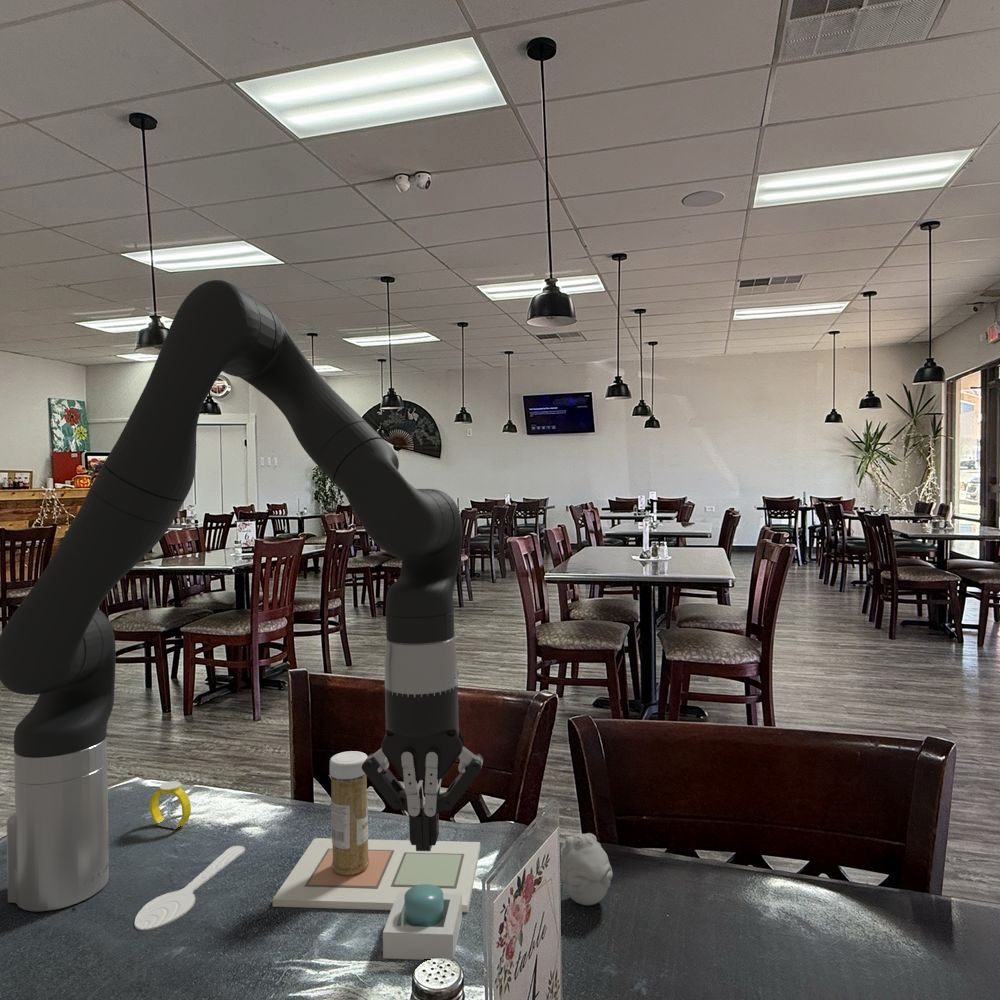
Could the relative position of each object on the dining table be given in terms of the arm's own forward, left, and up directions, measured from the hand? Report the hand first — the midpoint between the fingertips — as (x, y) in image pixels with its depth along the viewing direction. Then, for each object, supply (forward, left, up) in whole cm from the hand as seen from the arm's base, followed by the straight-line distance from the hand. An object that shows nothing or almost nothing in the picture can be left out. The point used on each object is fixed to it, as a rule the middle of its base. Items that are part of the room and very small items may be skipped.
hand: (424, 847), depth 72 cm
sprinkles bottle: (-11, +11, -9) cm, 18 cm away
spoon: (-29, +8, -10) cm, 32 cm away
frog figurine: (+17, +7, -10) cm, 21 cm away
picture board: (-7, +11, -9) cm, 16 cm away
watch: (-40, +22, -10) cm, 47 cm away
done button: (0, 0, -7) cm, 7 cm away
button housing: (0, 0, -9) cm, 9 cm away
